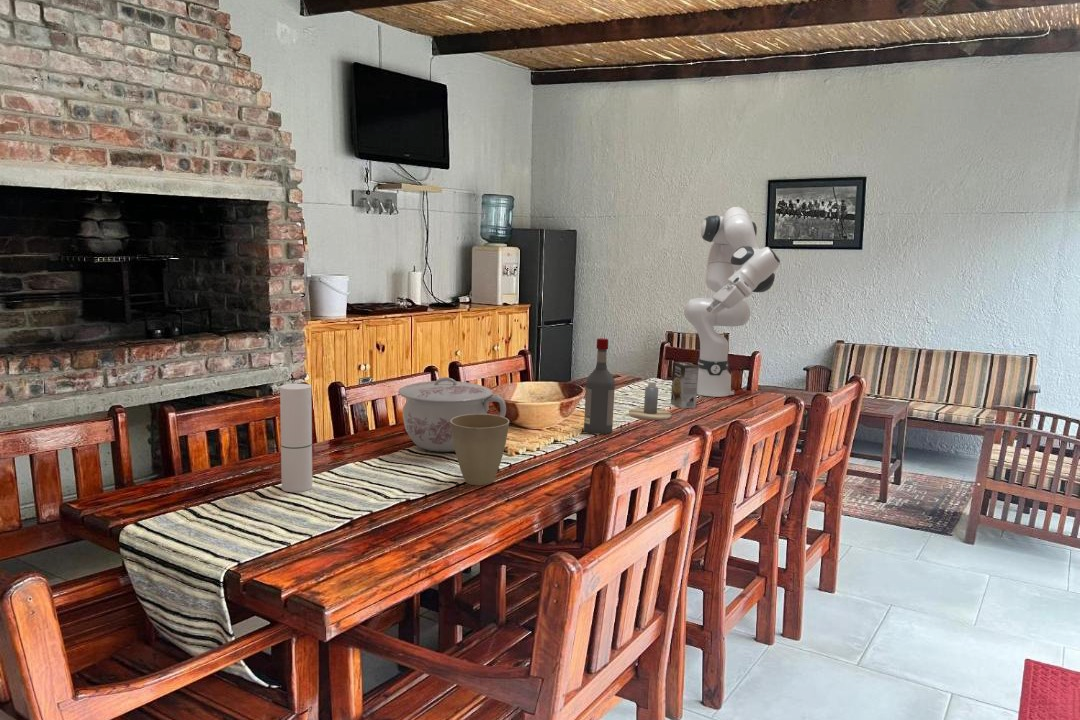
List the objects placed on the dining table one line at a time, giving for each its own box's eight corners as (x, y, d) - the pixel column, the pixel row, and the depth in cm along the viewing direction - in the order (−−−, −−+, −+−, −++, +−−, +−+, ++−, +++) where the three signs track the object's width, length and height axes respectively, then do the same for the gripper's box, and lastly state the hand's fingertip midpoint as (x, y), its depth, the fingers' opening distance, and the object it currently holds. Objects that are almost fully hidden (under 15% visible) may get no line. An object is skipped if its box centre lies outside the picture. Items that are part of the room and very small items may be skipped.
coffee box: (669, 403, 307) (672, 361, 305) (685, 402, 309) (687, 361, 306) (681, 408, 299) (683, 365, 296) (696, 407, 301) (699, 365, 298)
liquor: (612, 427, 265) (617, 338, 260) (612, 434, 256) (617, 341, 251) (584, 426, 266) (588, 336, 261) (583, 433, 257) (587, 340, 252)
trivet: (627, 409, 293) (627, 407, 293) (668, 411, 293) (668, 408, 292) (630, 419, 278) (630, 416, 278) (674, 421, 278) (674, 418, 278)
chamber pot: (378, 444, 236) (378, 374, 232) (451, 430, 255) (452, 365, 252) (437, 466, 216) (439, 390, 213) (512, 449, 236) (514, 379, 232)
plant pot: (477, 468, 215) (479, 410, 212) (519, 481, 206) (521, 420, 203) (436, 481, 204) (437, 419, 201) (479, 494, 194) (480, 430, 192)
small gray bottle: (643, 410, 288) (645, 380, 286) (656, 411, 288) (657, 381, 286) (644, 413, 283) (646, 383, 281) (657, 414, 283) (659, 383, 281)
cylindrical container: (310, 481, 199) (309, 383, 195) (313, 490, 193) (312, 388, 189) (280, 484, 197) (279, 384, 193) (282, 493, 190) (280, 389, 186)
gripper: (727, 276, 289) (698, 302, 291) (740, 280, 269) (708, 308, 271) (739, 289, 290) (710, 315, 291) (752, 294, 269) (721, 322, 271)
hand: (709, 312), depth 281 cm, fingers open, 8 cm apart
